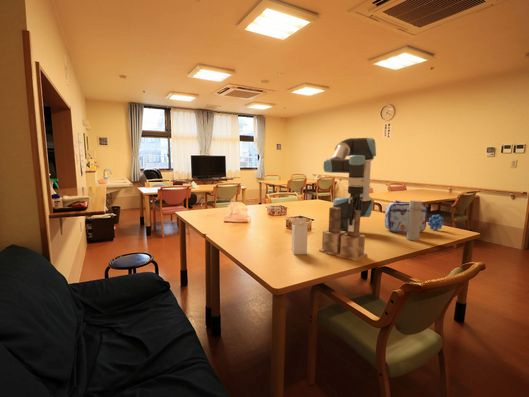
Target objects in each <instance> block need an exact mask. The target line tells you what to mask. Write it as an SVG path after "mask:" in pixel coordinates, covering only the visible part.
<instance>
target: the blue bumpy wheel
mask: <svg viewBox="0 0 529 397" xmlns="http://www.w3.org/2000/svg"><path fill="white" fill-rule="evenodd" d="M444 224H445V222H444V217H442V216H441V215H440V214H433V215H431V217H429V218H428V222H427V226H429V229H430V230H434V231H438V230H441V229H442V226H444Z"/></svg>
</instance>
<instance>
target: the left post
mask: <svg viewBox="0 0 529 397" xmlns="http://www.w3.org/2000/svg"><path fill="white" fill-rule="evenodd" d="M328 211H329V213H328V230H329V232H330V233H335V234H337V233H340V220H341V208H338V207H333V206H331V207H329V210H328Z"/></svg>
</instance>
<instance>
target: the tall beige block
mask: <svg viewBox="0 0 529 397" xmlns="http://www.w3.org/2000/svg"><path fill="white" fill-rule="evenodd" d="M409 202H410V203H409V208H410V209H409V208H407V212H408V209H409V214H408V213H407V215H406V217H407V221H408V227H407V230H406V231H407V233H406V239H407V240H408V241H411V242H417V241H419V240H420V233H421V232H420V223H421V211H422V210H421V209H422V204H423V203H422V202H423V201H422V200H416V199H410V200H409ZM405 222H406V220H405ZM404 227H405V225H404ZM406 231H405V230H404V232H406Z"/></svg>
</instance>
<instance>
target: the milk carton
mask: <svg viewBox="0 0 529 397" xmlns="http://www.w3.org/2000/svg"><path fill="white" fill-rule="evenodd" d="M292 220H293V221H292V224H291V252H292V254H293V255H307V254H308V235H309V234H308V230H309V229H308V228H309V227H308V221H307V218H306V217H304V218H303V217H299V218H298V217H294V218H293V219H292Z"/></svg>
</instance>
